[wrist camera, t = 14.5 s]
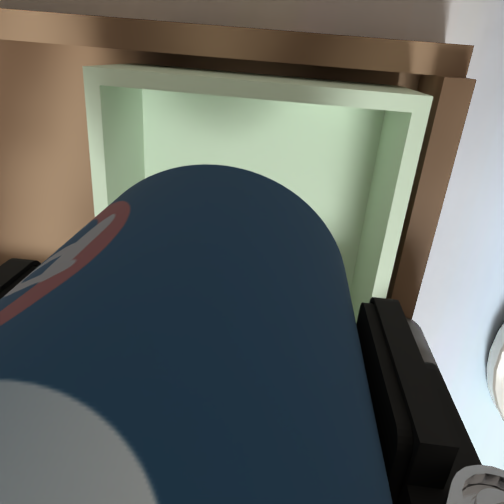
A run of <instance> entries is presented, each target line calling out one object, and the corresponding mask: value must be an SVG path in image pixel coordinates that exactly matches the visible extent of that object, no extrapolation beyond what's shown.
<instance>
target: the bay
mask: <svg viewBox="0 0 504 504" xmlns="http://www.w3.org/2000/svg"><path fill="white" fill-rule="evenodd" d="M473 48H474V46H472V45H459V44H446V43H434V42H421V41H408V40H396V39H383V38H370V37H358V36H345V35H332V34H320V33H307V32H294V31H282V30H269V29H256V28H244V27H231V26H218V25H206V24H193V23H180V22H168V21H155V20H142V19H130V18H117V17H104V16H92V15H79V14H66V13H54V12H41V11H28V10H16V9H3V8H0V266H1V265H2V264H3V263H5V262H6V261H8V260H9V259H11V258H18V259H28V260H37V261H39V262H40V263H41V264H42V263H43V262H44V261H45V260H46V259H47V258H49V257H50V256H51V255H52V254H53V253H54V252H56V251H57V250H58V249H59V248H60V247H61V246H62V245H64V244H65V243H66V242H67V241H68V240H69V239H71V238H72V237H73V236H74V235H75V234H76V233H77V232H79V231H80V230H81V229H82V228H83V227H84V226H86V225H87V224H88V223H89V222H90V221H91V220H92V219H94V218H95V214H94V201H93V189H92V177H91V165H90V153H89V140H88V128H87V116H86V104H85V92H84V79H83V67H82V66H95V65H111V64H128V63H137V64H149V65H161V66H173V67H184V68H196V69H208V70H220V71H232V72H243V73H255V74H267V75H279V76H290V77H302V78H314V79H326V80H338V81H349V82H361V83H373V84H385V85H396V86H403V87H406V88H409V89H412V90H415V91H418V92H421V93H424V94H428V95H431V96H433V100H432V105H431V109H430V113H429V117H428V122H427V126H426V130H425V134H424V139H423V143H422V147H421V151H420V156H419V160H418V164H417V168H416V173H415V177H414V181H413V185H412V190H411V194H410V198H409V202H408V207H407V211H406V215H405V219H404V224H403V228H402V232H401V236H400V241H399V245H398V249H397V253H396V258H395V262H394V266H393V270H392V275H391V279H390V283H389V287H388V292H387V296H386V299H395V300H398V301H399V302H400V305H401V307H402V309H403V312H404V314H405V317H406V319H407V322H408V324H409V326H410V329H411V331H412V334H413V336H414V339H415V341H416V343H417V346H418V348H419V351H420V353H421V355H422V358H423V360H424V362H430V363H434V364H435V365H436V366H437V364H436V361H435V359H434V357H433V355H432V352H431V350H430V348H429V346H428V343H427V341H426V339H425V337H424V334H423V332H422V330H421V328H420V327H419V325H418V324H417V323H416V322H414V321H413V320H412V316H413V312H414V309H415V305H416V301H417V298H418V294H419V290H420V287H421V283H422V279H423V275H424V272H425V268H426V264H427V261H428V257H429V253H430V250H431V246H432V242H433V238H434V235H435V231H436V227H437V224H438V220H439V216H440V213H441V209H442V205H443V201H444V198H445V194H446V190H447V187H448V183H449V179H450V176H451V172H452V168H453V164H454V161H455V157H456V153H457V150H458V146H459V142H460V139H461V135H462V131H463V127H464V124H465V120H466V116H467V113H468V109H469V105H470V102H471V98H472V94H473V90H474V87H475V83H476V79H469V78H466V75H467V71H468V67H469V63H470V59H471V56H472V52H473ZM437 367H438V366H437ZM438 369H439V368H438ZM442 378H443V377H442Z"/></svg>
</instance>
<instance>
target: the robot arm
mask: <svg viewBox="0 0 504 504" xmlns="http://www.w3.org/2000/svg"><path fill="white" fill-rule="evenodd" d="M39 265H41V263H40V262H39V261H37V260H28V259H18V258H11V259H9V260H8V261H6V262H5V263H3V264H2V265H1V266H0V299H1V298H2V297H4V296H5V295H6V294H7V293H8V292H9V291H11V290H12V289H13V288H14V287H15V286H16V285H17V284H19V283H20V282H21V281H22V280H23V279H24V278H26V277H27V276H28V275H29V274H30V273H31V272H32V271H34V270H35V269H36V268H37V267H38V266H39ZM356 325H357V330H358V335H359V340H360V345H361V350H362V355H363V360H364V365H365V370H366V375H367V380H368V385H369V389H370V394H371V399H372V404H373V409H374V414H375V419H376V424H377V429H378V434H379V439H380V444H381V449H382V454H383V458H384V463H385V468H386V473H387V478H388V483H389V488H390V493H391V498H392V503H393V504H504V470H501V469H498V468H496V467H493V466H485V465H482V464H481V462H480V460H479V458H478V455H477V453H476V451H475V449H474V446H473V444H472V442H471V440H470V438H469V435H468V433H467V431H466V429H465V426H464V424H463V422H462V420H461V418H460V415H459V413H458V411H457V409H456V406H455V404H454V402H453V400H452V398H451V395H450V393H449V391H448V389H447V386H446V384H445V382H444V380H443V378H442V375H441V373H440V371H439V369H438V367H437V366H436V365H435V364H434V363H430V362H424V360H423V358H422V355H421V353H420V351H419V348H418V346H417V343H416V341H415V339H414V336H413V334H412V331H411V329H410V326H409V324H408V322H407V319H406V317H405V314H404V312H403V309H402V307H401V305H400V302H399V301H398V300H395V299H386V298H377V297H372V298H371V299H370V301H369V303H364V302H362V303H361V305H360V309H359V314H358V318H357V323H356ZM486 369H487V385H488V389H489V392H490V395H491V398H492V400H493V403H494V405H495V406H496V408H497V410H498V412H499V413H500V415H501V417H502V419H503V421H504V323H503V325H502V326H501V328H500V329H499V331H498V333H497V335H496V337H495V340H494V342H493V344H492V346H491V349H490V352H489V358H488V363H487V368H486Z"/></svg>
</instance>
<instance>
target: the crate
mask: <svg viewBox="0 0 504 504" xmlns="http://www.w3.org/2000/svg"><path fill="white" fill-rule="evenodd" d="M82 67H83V79H84V92H85V104H86V116H87V128H88V140H89V153H90V165H91V177H92V189H93V201H94V214H95V217H96V216H97V215H98V214H99V213H101V212H102V211H103V210H104V209H105V208H106V207H107V206H109V205H110V204H111V203H112V202H113V201H114V200H116V199H117V198H118V197H119V196H120V195H121V194H122V193H124V192H125V191H126V190H128V189H129V188H130V187H132V186H133V185H135V184H136V183H138V182H140V181H141V180H143V179H145V178H147V177H149V176H151V175H154V174H156V173H159V172H162V171H165V170H168V169H172V168H177V167H181V166H188V165H200V164H212V165H224V166H231V167H236V168H241V169H245V170H248V171H252V172H254V173H257V174H260V175H263V176H265V177H267V178H270V179H272V180H274V181H276V182H277V183H279V184H281V185H283V186H284V187H286V188H288V189H289V190H291V191H292V192H293V193H295V194H296V195H297V196H299V197H300V198H301V199H302V200H304V201H305V202H306V203H307V204H308V205H309V206H310V207H311V208H312V209H313V210H314V211H315V212H316V213H317V214H318V216H319V217H320V218H321V219H322V220H323V222H324V223H325V225H326V226H327V228H328V229H329V231H330V232H331V234H332V236H333V238H334V239H335V241H336V243H337V246H338V248H339V250H340V253H341V256H342V259H343V263H344V267H345V271H346V276H347V281H348V286H349V291H350V296H351V301H352V306H353V311H354V316H355V320H356V323H357V318H358V314H359V309H360V305H361V303H362V302H364V303H369V301H370V299H371V298H372V297H377V298H386V296H387V292H388V287H389V283H390V279H391V275H392V270H393V266H394V262H395V258H396V253H397V249H398V245H399V241H400V236H401V232H402V228H403V224H404V219H405V215H406V211H407V207H408V202H409V198H410V194H411V190H412V185H413V181H414V177H415V173H416V168H417V164H418V160H419V156H420V151H421V147H422V143H423V139H424V134H425V130H426V126H427V122H428V117H429V113H430V109H431V105H432V100H433V96H431V95H428V94H424V93H421V92H418V91H415V90H412V89H409V88H406V87H403V86H396V85H385V84H373V83H361V82H349V81H338V80H326V79H314V78H302V77H290V76H279V75H267V74H255V73H243V72H232V71H220V70H208V69H196V68H184V67H173V66H161V65H149V64H137V63H128V64H111V65H95V66H82Z"/></svg>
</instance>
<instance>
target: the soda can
mask: <svg viewBox="0 0 504 504" xmlns="http://www.w3.org/2000/svg"><path fill="white" fill-rule="evenodd" d="M0 504H393V503H392V498H391V493H390V488H389V483H388V478H387V473H386V468H385V463H384V458H383V454H382V449H381V444H380V439H379V434H378V429H377V424H376V419H375V414H374V409H373V404H372V399H371V394H370V389H369V385H368V380H367V375H366V370H365V365H364V360H363V355H362V350H361V345H360V340H359V335H358V330H357V325H356V320H355V316H354V311H353V306H352V301H351V296H350V291H349V286H348V281H347V276H346V271H345V267H344V263H343V259H342V256H341V253H340V250H339V248H338V246H337V243H336V241H335V239H334V238H333V236H332V234H331V232H330V231H329V229H328V228H327V226H326V225H325V223H324V222H323V220H322V219H321V218H320V217H319V216H318V214H317V213H316V212H315V211H314V210H313V209H312V208H311V207H310V206H309V205H308V204H307V203H306V202H305V201H304V200H302V199H301V198H300V197H299V196H297V195H296V194H295V193H293V192H292V191H291V190H289V189H288V188H286V187H284V186H283V185H281V184H279V183H277V182H276V181H274V180H272V179H270V178H267V177H265V176H263V175H260V174H257V173H254V172H252V171H248V170H245V169H241V168H236V167H231V166H224V165H212V164H200V165H188V166H181V167H177V168H172V169H168V170H165V171H162V172H159V173H156V174H154V175H151V176H149V177H147V178H145V179H143V180H141V181H140V182H138V183H136V184H135V185H133V186H132V187H130V188H129V189H128V190H126V191H125V192H124V193H122V194H121V195H120V196H119V197H118V198H117V199H116V200H114V201H113V202H112V203H111V204H110V205H109V206H107V207H106V208H105V209H104V210H103V211H102V212H101V213H99V214H98V215H97V216H96V217H95V218H94V219H92V220H91V221H90V222H89V223H88V224H87V225H86V226H84V227H83V228H82V229H81V230H80V231H79V232H77V233H76V234H75V235H74V236H73V237H72V238H71V239H69V240H68V241H67V242H66V243H65V244H64V245H62V246H61V247H60V248H59V249H58V250H57V251H56V252H54V253H53V254H52V255H51V256H50V257H49V258H47V259H46V260H45V261H44V262H43V263H42V264H41V265H39V266H38V267H37V268H36V269H35V270H34V271H32V272H31V273H30V274H29V275H28V276H27V277H26V278H24V279H23V280H22V281H21V282H20V283H19V284H17V285H16V286H15V287H14V288H13V289H12V290H11V291H9V292H8V293H7V294H6V295H5V296H4V297H2V298H1V299H0Z"/></svg>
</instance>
